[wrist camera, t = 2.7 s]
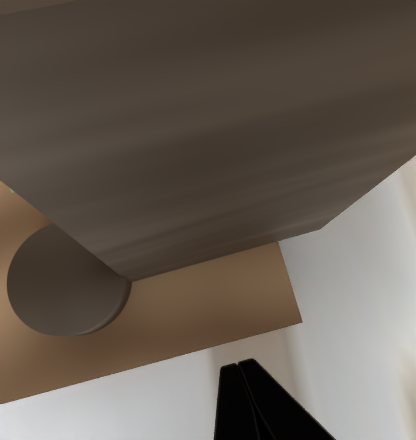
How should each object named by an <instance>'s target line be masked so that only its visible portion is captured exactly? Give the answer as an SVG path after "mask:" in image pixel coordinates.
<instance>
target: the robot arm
mask: <svg viewBox="0 0 416 440" xmlns="http://www.w3.org/2000/svg"><path fill="white" fill-rule="evenodd" d="M214 440H336V439H335V438H334V437H333V436H332V435H331V434H330V433H329V432H328V431H327V430H326V429H325V428H324V427H323V426H322V425H321V424H320V423H319V422H318V421H317V420H316V419H314V418H313V417H312V416H311V415H310V414H309V413H308V412H307V411H306V410H305V409H304V408H303V407H302V406H301V405H300V404H299V403H298V402H297V401H296V400H295V399H294V398H293V397H292V396H291V395H290V394H289V393H288V392H287V391H286V390H285V389H284V388H283V387H282V386H281V385H280V384H279V383H278V382H277V381H276V380H275V379H274V378H273V377H272V376H271V375H270V374H269V373H268V372H267V371H266V370H265V369H264V368H263V367H262V366H261V365H260V364H259V363H258V362H257V361H256V360H254V359H252V358H251V359H247V360H243V361H240V362H238V364H235V363H233V364H229V365H226V366H222V367H221V369H220V377H219V388H218V398H217V409H216V420H215V430H214Z"/></svg>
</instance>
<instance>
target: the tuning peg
mask: <svg viewBox="0 0 416 440" xmlns="http://www.w3.org/2000/svg"><path fill="white" fill-rule="evenodd" d="M415 155H416V0H0V181H2V182H3V183H4V184H5V185H7V186H8V187H9V188H10V189H12V190H13V191H14V192H15V193H17V194H18V195H19V196H20V197H22V198H23V199H24V200H26V201H27V202H28V203H29V204H31V205H32V206H33V207H34V208H36V209H37V210H38V211H39V212H41V213H42V214H43V215H44V216H46V217H47V218H48V219H49V220H51V221H52V222H53V224H50V225H47V226H45V227H43V228H41V229H39V230H38V231H36V232H35V233H33V234H32V235H31V236H29V237H28V238H27V239H26V240H25V241H24V242H23V243H22V245H21V246H20V247H19V248H18V250H17V251H16V253H15V255H14V257H13V259H12V261H11V263H10V266H9V269H8V274H7V294H8V298H9V302H10V304H11V307H12V309H13V310H14V312H15V314H16V315H17V316H18V318H19V319H20V320H21V321H22V322H23V323H24V324H25V325H27V326H28V327H30V328H31V329H33V330H35V331H37V332H39V333H42V334H45V335H51V336H77V335H86V334H90V333H93V332H96V331H98V330H100V329H102V328H104V327H106V326H107V325H108V324H110V323H111V322H112V321H113V320H114V319H116V317H117V316H118V315H119V314H120V313H121V311H122V310H123V308H124V307H125V305H126V303H127V301H128V298H129V295H130V292H131V286H132V282H134V281H138V280H142V279H145V278H149V277H152V276H156V275H159V274H163V273H166V272H170V271H173V270H177V269H181V268H184V267H188V266H191V265H195V264H198V263H202V262H205V261H209V260H212V259H216V258H220V257H223V256H227V255H230V254H234V253H237V252H241V251H244V250H248V249H252V248H255V247H259V246H262V245H266V244H269V243H273V242H276V241H280V240H283V239H287V238H291V237H294V236H298V235H301V234H305V233H308V232H312V231H315V230H319V229H321V228H322V227H323V226H325V225H326V224H327V223H328V222H330V221H331V220H332V219H334V218H335V217H336V216H338V215H339V214H340V213H341V212H343V211H344V210H345V209H347V208H348V207H349V206H350V205H352V204H353V203H354V202H356V201H357V200H358V199H359V198H361V197H362V196H363V195H365V194H366V193H367V192H369V191H370V190H371V189H372V188H374V187H375V186H376V185H378V184H379V183H380V182H381V181H383V180H384V179H385V178H387V177H388V176H389V175H391V174H392V173H393V172H394V171H396V170H397V169H398V168H400V167H401V166H402V165H403V164H405V163H406V162H407V161H409V160H410V159H411V158H413V157H414V156H415Z"/></svg>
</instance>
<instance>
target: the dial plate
mask: <svg viewBox="0 0 416 440" xmlns="http://www.w3.org/2000/svg"><path fill="white" fill-rule="evenodd" d="M50 224H53V222H52V221H51V220H49V219H48V218H47V217H46V216H44V215H43V214H42V213H41V212H39V211H38V210H37V209H36V208H34V207H33V206H32V205H31V204H29V203H28V202H27V201H26V200H24V199H23V198H22V197H20V196H19V195H18V194H17V193H15V192H14V191H13V190H12V189H10V188H9V187H8V186H7V185H5V184H4V183H3V182H2V181H0V404H4V403H7V402H11V401H15V400H18V399H22V398H26V397H29V396H33V395H37V394H41V393H44V392H48V391H52V390H55V389H59V388H63V387H66V386H70V385H74V384H77V383H81V382H85V381H88V380H92V379H96V378H100V377H103V376H107V375H111V374H114V373H118V372H122V371H125V370H129V369H133V368H136V367H140V366H144V365H147V364H151V363H155V362H159V361H162V360H166V359H170V358H173V357H177V356H181V355H184V354H188V353H192V352H195V351H199V350H203V349H206V348H210V347H214V346H218V345H221V344H225V343H229V342H232V341H236V340H240V339H243V338H247V337H251V336H254V335H258V334H262V333H265V332H269V331H273V330H277V329H280V328H284V327H288V326H291V325H295V324H299V323H302V319H301V315H300V312H299V309H298V306H297V303H296V299H295V296H294V293H293V290H292V286H291V283H290V280H289V277H288V274H287V270H286V267H285V264H284V261H283V258H282V254H281V251H280V248H279V245H278V241H276V242H273V243H269V244H266V245H262V246H259V247H255V248H252V249H248V250H244V251H241V252H237V253H234V254H230V255H227V256H223V257H220V258H216V259H212V260H209V261H205V262H202V263H198V264H195V265H191V266H188V267H184V268H181V269H177V270H173V271H170V272H166V273H163V274H159V275H156V276H152V277H149V278H145V279H142V280H138V281H134V282H132V286H131V292H130V295H129V298H128V301H127V303H126V305H125V307H124V308H123V310H122V311H121V313H120V314H119V315H118V316H117V317H116V319H114V320H113V321H112V322H111V323H110V324H108V325H107V326H106V327H104V328H102V329H100V330H98V331H96V332H93V333H90V334H86V335H77V336H51V335H45V334H42V333H39V332H37V331H35V330H33V329H31V328H30V327H28V326H27V325H25V324H24V323H23V322H22V321H21V320H20V319H19V318H18V316H17V315H16V314H15V312H14V310H13V309H12V307H11V304H10V302H9V298H8V294H7V274H8V269H9V266H10V263H11V261H12V259H13V257H14V255H15V253H16V251H17V250H18V248H19V247H20V246H21V245H22V243H23V242H24V241H25V240H26V239H27V238H28V237H29V236H31V235H32V234H33V233H35V232H36V231H38V230H39V229H41V228H43V227H45V226H47V225H50Z"/></svg>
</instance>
